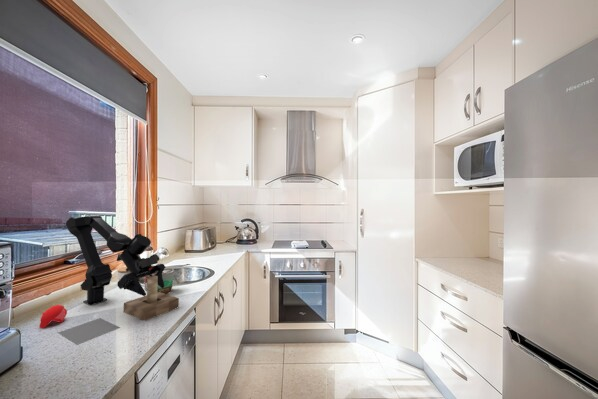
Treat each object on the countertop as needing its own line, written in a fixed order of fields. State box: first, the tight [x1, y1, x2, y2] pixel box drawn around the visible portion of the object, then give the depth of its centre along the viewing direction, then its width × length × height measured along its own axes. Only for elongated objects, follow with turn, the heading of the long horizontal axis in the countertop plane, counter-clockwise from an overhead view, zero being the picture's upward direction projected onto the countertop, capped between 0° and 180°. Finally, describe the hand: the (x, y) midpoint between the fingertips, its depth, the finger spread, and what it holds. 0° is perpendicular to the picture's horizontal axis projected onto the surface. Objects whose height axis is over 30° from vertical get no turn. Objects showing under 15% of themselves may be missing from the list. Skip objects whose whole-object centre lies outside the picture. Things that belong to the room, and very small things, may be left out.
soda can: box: [144, 262, 159, 290], centre depth 125 cm, size 7×7×12 cm
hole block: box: [122, 292, 180, 321], centre depth 101 cm, size 14×14×4 cm
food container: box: [148, 268, 176, 295], centre depth 119 cm, size 12×6×10 cm, turn 148°
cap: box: [39, 304, 68, 329], centre depth 88 cm, size 8×6×6 cm
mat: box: [57, 317, 121, 346], centre depth 84 cm, size 14×12×1 cm
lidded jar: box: [117, 265, 131, 281], centre depth 134 cm, size 11×11×9 cm
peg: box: [146, 276, 158, 304], centre depth 101 cm, size 4×4×14 cm
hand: (154, 291), depth 101 cm, fingers open, 9 cm apart
